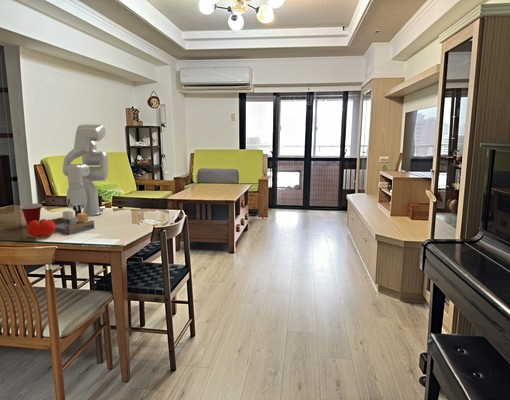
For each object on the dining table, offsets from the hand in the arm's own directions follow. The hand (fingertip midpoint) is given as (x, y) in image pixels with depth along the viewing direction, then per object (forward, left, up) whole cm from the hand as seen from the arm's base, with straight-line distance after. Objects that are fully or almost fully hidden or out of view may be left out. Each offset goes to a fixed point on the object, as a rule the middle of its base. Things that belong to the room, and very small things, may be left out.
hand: (78, 216), depth 207 cm
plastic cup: (+16, -19, -4) cm, 25 cm away
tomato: (+26, +9, -4) cm, 28 cm away
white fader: (+6, 0, -1) cm, 7 cm away
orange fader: (+6, +13, -1) cm, 14 cm away
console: (+11, +6, -4) cm, 13 cm away
